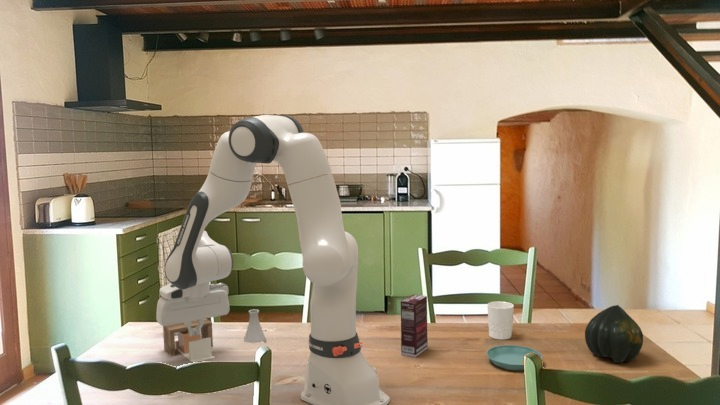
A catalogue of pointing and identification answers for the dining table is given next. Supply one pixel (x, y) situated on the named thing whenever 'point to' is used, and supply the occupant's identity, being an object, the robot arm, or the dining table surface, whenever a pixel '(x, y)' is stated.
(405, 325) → the supplement box
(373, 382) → the robot arm
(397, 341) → the dining table surface
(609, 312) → the squash
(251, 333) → the flask
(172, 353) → the tunnel
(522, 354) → the saucer
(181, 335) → the block
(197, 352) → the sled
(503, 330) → the white cup
